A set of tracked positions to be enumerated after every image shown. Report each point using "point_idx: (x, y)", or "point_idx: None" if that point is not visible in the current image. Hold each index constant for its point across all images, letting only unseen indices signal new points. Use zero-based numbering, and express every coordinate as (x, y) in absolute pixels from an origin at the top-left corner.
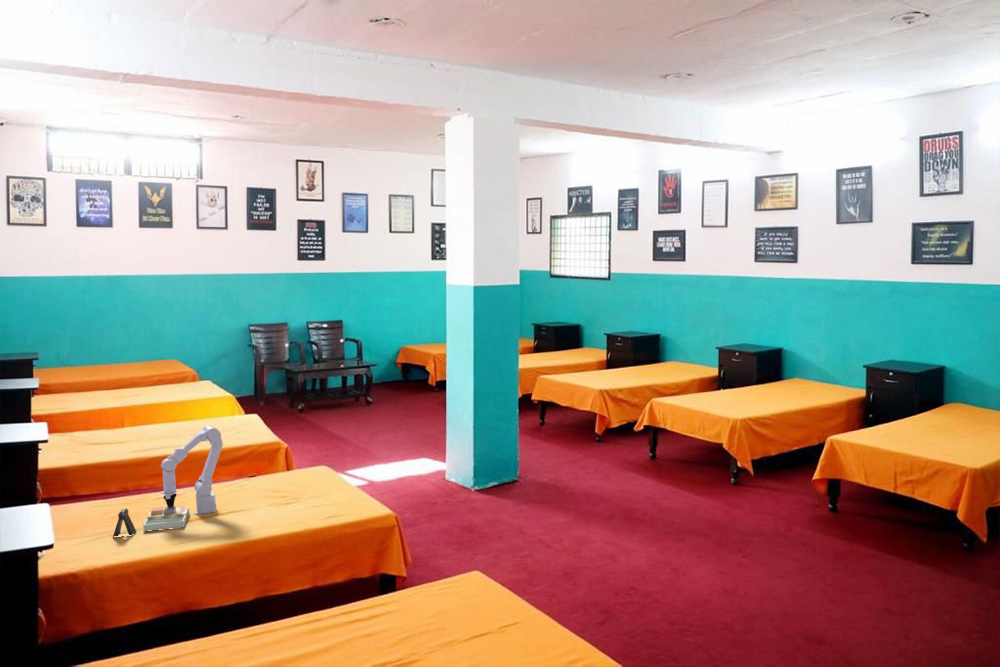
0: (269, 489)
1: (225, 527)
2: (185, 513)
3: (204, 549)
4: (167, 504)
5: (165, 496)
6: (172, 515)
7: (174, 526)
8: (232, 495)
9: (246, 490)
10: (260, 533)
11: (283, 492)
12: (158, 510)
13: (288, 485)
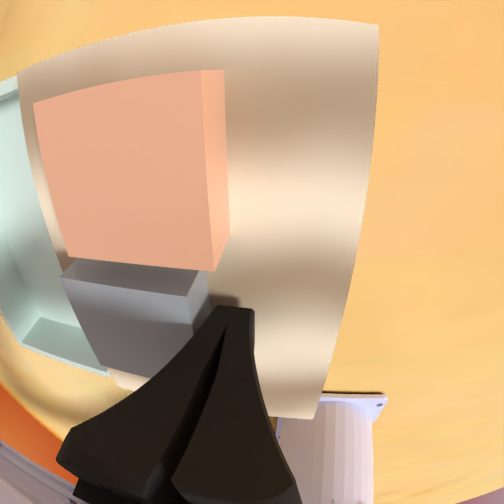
0: (455, 481)
1: (79, 412)
2: (118, 385)
3: None
4: (174, 360)
5: (96, 482)
6: None
7: (13, 287)
8: (491, 443)
9: (501, 453)
10: (58, 430)
11: (399, 498)
12: (57, 214)
13: (449, 491)
